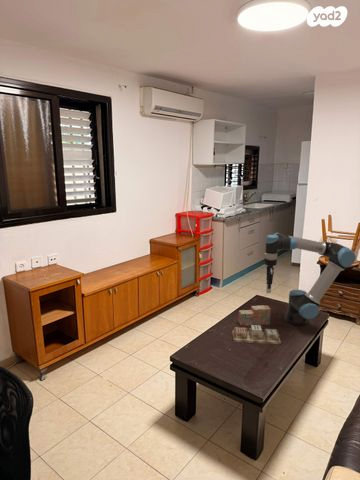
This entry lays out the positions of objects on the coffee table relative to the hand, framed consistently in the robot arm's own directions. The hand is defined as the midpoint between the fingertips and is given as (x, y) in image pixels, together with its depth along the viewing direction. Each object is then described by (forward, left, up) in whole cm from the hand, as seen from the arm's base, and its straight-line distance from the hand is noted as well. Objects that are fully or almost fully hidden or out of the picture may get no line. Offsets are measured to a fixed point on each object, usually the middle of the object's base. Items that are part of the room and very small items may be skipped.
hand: (268, 292), depth 217 cm
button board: (+8, +10, -28) cm, 31 cm away
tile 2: (+8, +10, -24) cm, 27 cm away
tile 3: (+18, +10, -27) cm, 34 cm away
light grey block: (-2, +10, -27) cm, 29 cm away
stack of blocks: (+7, -11, -29) cm, 32 cm away
